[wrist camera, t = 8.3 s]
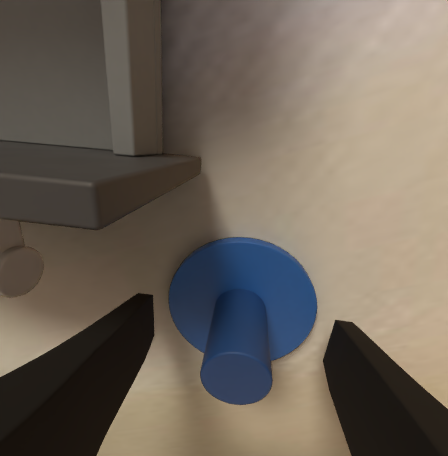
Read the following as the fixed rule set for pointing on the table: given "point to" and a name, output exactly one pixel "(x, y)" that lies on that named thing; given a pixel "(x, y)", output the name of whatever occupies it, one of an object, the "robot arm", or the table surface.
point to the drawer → (78, 121)
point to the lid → (241, 313)
